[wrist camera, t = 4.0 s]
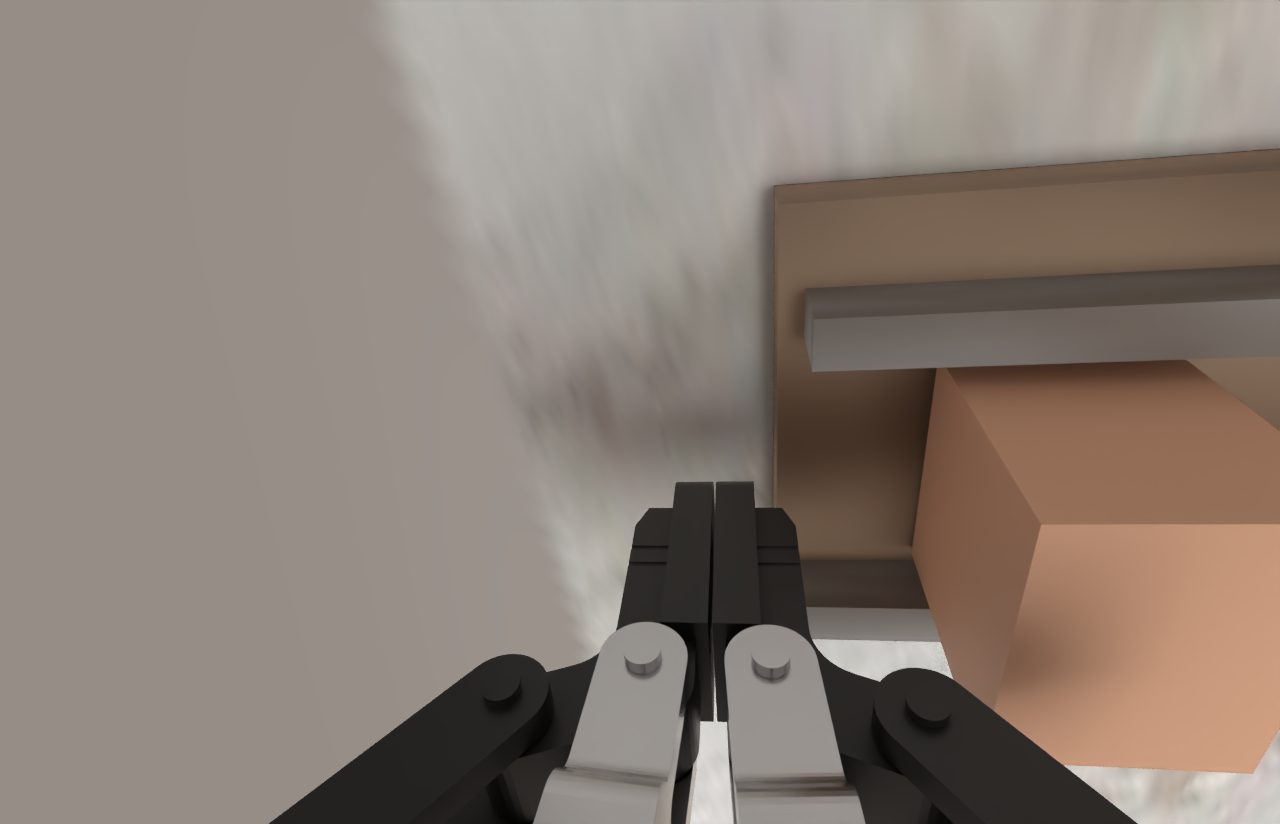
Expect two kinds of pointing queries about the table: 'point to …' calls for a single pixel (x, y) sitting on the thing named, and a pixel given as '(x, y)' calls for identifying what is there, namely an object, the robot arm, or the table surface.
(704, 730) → the table surface
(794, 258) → the rail board
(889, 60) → the table surface
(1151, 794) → the table surface
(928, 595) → the orange-brown block
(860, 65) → the table surface
